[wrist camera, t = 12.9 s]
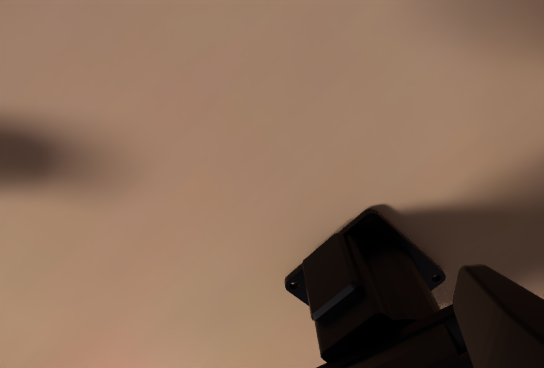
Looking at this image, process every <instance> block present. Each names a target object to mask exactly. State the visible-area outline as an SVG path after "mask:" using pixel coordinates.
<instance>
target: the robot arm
mask: <svg viewBox="0 0 544 368" xmlns="http://www.w3.org/2000/svg"><path fill="white" fill-rule="evenodd" d="M371 217H373V218H374V219H373V220H372V221H370V222H367V219H368V218H371ZM434 275H437V276H435V277H433V276H434ZM444 280H445V274H444V272H443V270H442V269H441V268H440V267H439V266H438V265H437V264H436V263H435V262H434V261H432V260H431V259H430V258H429V257H428V256H427V255H426V254H425V253H423V252H422V251H421V250H420V249H419V248H418V247H417V246H416V245H414V244H413V243H412V242H411V241H410V240H409V239H408V238H407V237H405V236H404V235H403V234H402V233H401V232H400V231H399V230H397V229H396V228H395V227H394V226H393V225H392V224H391V223H390V222H388V221H387V220H386V219H385V218H384V217H383V216H382V215H381V214H379V213H378V212H377V211H376V210H374V209H368V210H365V211H364V212H362V213H361V214H360V215H359V216H358V217H356V218H355V219H354V220H353V221H352V222H350V223H349V224H348V225H347V226H346V227H345V228H343V229H342V230H341V231H340V232H338V233H335V234H334V235H333V236H332V237H330V238H329V239H328V240H327V241H326V242H324V243H323V244H322V245H321V246H320V247H319V248H317V249H316V250H315V251H314V252H313V253H312V254H310V255H309V256H308V257H307V258H306V259H304V260H303V263H302V264H301V265H300V266H298V267H297V268H296V269H295V270H294V271H293V272H291V273H290V274H289V275H288V276H287V277H286V278H285V288H286V290H287V291H289V292H290V293H291V294H293V295H294V296H296V297H297V298H298V299H300V300H301V301H303V302H304V303H305V304H307V305H308V306H309V307H310V313H311V318H312V320H314V321H315V327H316V332H317V338H318V344H319V349H320V355H321V358H322V359H323V360H324V361H326V362H327V363H325V364H323V365H321V366H319V367H317V368H544V299H542V298H540V297H539V296H537V295H535V294H534V293H532V292H530V291H529V290H527V289H525V288H523V287H522V286H520V285H518V284H517V283H515V282H513V281H512V280H510V279H508V278H507V277H505V276H503V275H501V274H500V273H498V272H496V271H495V270H493V269H491V268H490V267H488V266H486V265H482V264H479V265H464V266H462V267H461V268H460V270H459V273H458V278H457V282H456V287H455V292H454V296H453V304H452V305H450V306H447V307H445V308H443V309H440V307H439V306H438V304H437V302H436V300H435V298H434V296H433V294H432V292H431V291H432V290H433V289H434V288H436V287H437V286H438V285H440V284H441V283H442V282H443V281H444ZM292 282H297V283H296V284H291V283H292Z"/></svg>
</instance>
